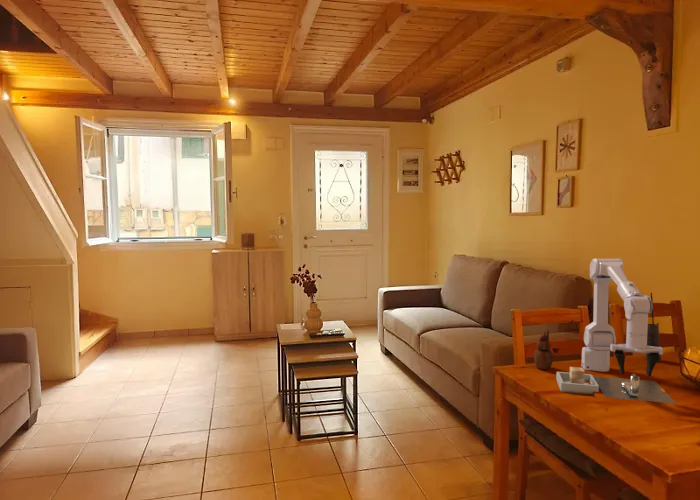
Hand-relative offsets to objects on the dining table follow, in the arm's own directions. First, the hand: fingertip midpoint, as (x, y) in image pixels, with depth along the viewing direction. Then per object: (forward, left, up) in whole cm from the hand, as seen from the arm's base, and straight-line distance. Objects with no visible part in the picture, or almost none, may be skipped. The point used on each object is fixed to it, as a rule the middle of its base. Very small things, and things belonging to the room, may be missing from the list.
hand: (635, 374), depth 153 cm
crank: (0, +4, -7) cm, 8 cm away
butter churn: (+20, +47, -9) cm, 52 cm away
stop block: (-16, +7, -8) cm, 19 cm away
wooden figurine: (-25, +25, -9) cm, 36 cm away
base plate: (+1, +7, -8) cm, 11 cm away
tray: (-16, +7, -8) cm, 19 cm away
